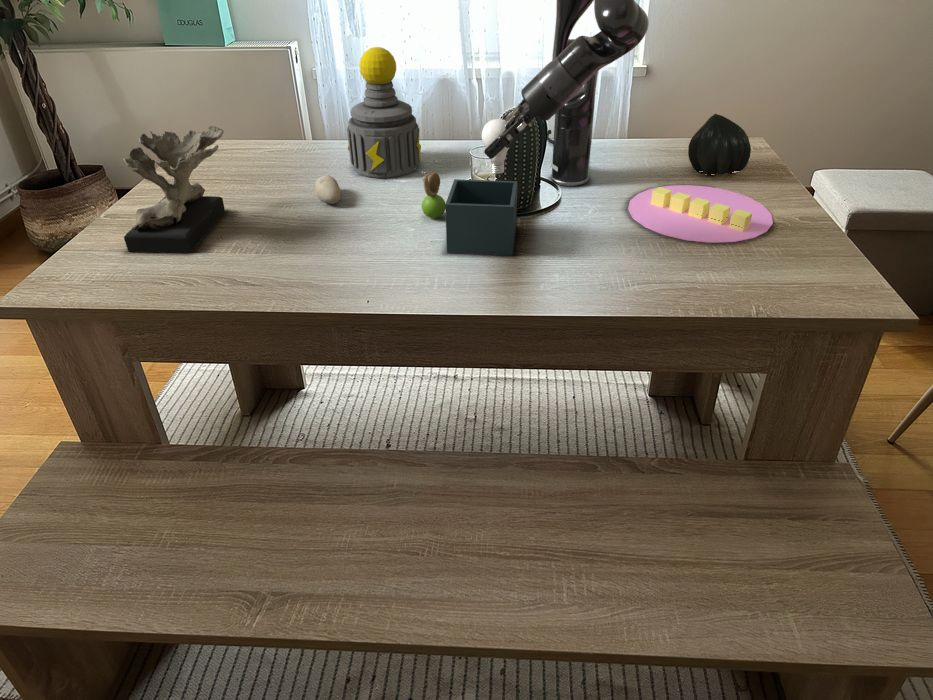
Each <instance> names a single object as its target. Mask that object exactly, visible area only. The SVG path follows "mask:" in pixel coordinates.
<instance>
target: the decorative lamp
mask: <svg viewBox="0 0 933 700" xmlns="http://www.w3.org/2000/svg"><path fill="white" fill-rule="evenodd" d="M358 66H359V72H360V75H361V77H362V79H363V80H364V81H365V82H366V83H365V88H366V89H365V90H364V96H365V97H364V98H363V101H361V102H358V103H357V104H355V105H354V106H352V107H351V109H350V116H351V117H350V118H349V119H348V123H347V124H348V125H347V127H346V133H347V143H348V145H347V150H348V151H349V161H350V165H352V168H353V171H354V172H356V173H357V174H359V175H360V176H364V177H367V178H373V179H391V178H398V177H403V176H406V175H408V174H410V173H412V172H414V171H415V170H416V169H417V168H418V167H419V163H420V162H421V150H422V145H421V143H420V127H419V124H418V123H417V117H415V115H413V107H412V106H411V105H410V104H409V103H407V102H405V101H402V100H399V99H398V97H397V96H396V94H397V92H396V89H395V88H394V83H393V80H394V78H395V76H396V73H397V62H396V59H395V57H394V55H393V54H392V53H391V51H389V50H388V49H386V48H384V47H381V46H374V47H370V48H368V49H367V50H366V51H364V53H363V54H362V55H361V57H360V60H359V65H358Z"/></svg>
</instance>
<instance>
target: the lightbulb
mask: <svg viewBox="0 0 933 700" xmlns="http://www.w3.org/2000/svg"><path fill="white" fill-rule="evenodd" d="M506 123H507V121H505V120H504V118H493V119H491V120H489V121H487V122H486V123H485V125H484V126H483V127H482V130H481V141H482V144H483V146H484V147H485V149H486V148H487V147H488V146H489V145H490V144H491V143H492V142H493V141H494V140H495V139H496V138H497V137H498V135H500V134H501V132H502V131H503V130H504V125H505V124H506ZM510 127H511V126H510ZM505 137H506V138H507V139H508V140H509V139H510V138H511V135H510V134H507V135H506V136H505ZM510 148H511V146H510V147H509V148H506V147H504V148H503V149H502V150H501V151H500V152H499V153H498V154H497V155H496V156H495V157H494V158H493V159H490V172H491V173H492V174H493V175H495V176H500V175H502V174H503V173H504V172H505V160H506V157H507V153H508V152H509V149H510Z"/></svg>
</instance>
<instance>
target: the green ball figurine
mask: <svg viewBox="0 0 933 700" xmlns="http://www.w3.org/2000/svg"><path fill="white" fill-rule="evenodd" d="M427 173H428V172H427V171H423V170H422V171H421V174H422V175H423V176H422V182H423V189H424V192H425V194H426V196H424V198H423V200H422V202H421V210H422V212H423V214H424V215H425V216H426V217H427V218H429V219H438V218H440V217H441V216H443V215H444V213H446V209H445V204H446V201H445V199H444V198H443V197H442V196H441V195H440V194H438V193H439V191H440V185H441V177H440V175H439V173H438V172H431V173H430V174H429V176H427Z"/></svg>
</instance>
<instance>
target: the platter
mask: <svg viewBox="0 0 933 700" xmlns="http://www.w3.org/2000/svg"><path fill="white" fill-rule="evenodd" d="M627 211H628V212H629V214H630V216H631V218H632V219H633V220H634V221H636V222H637V223H638V224H640V225H641V226H642V227H644V228H645V229H648V230H650V231H653V232H654V233H657V234H659V235H662V236H665V237H669V238H674V239H678V240H682V241H688V242H696V243H697V242H698V243H706V244H722V243H723V244H726V243H738V242H743V241H747V240H753V239H755V238H757V237H760V236H761V235H764V234H765V233H767V232H768V231H769V230H770V228H771V227H772V226H773V224H774V220H773V214H772V212H770V211H769V210H768V208H766V206H765V205H764V204H762V203H760V202H758V201H756V200H755V199H753V198H751V197H750V196H747V195H745V194H741V193H738V192H735V191H732V190H728V189H723V188H717V187H713V186H705V185H695V184H693V185H692V184H677V185H675V184H674V185H665V186H659V187H652V188H649V189H647V190H644V191H641V192H639V193H637V194H636V195H635V196H633V197H632V198H631V199H629V204H628V208H627ZM707 211H708V212H707ZM706 212H707V213H706ZM697 214H698V215H697ZM703 214H704V215H703ZM701 215H702V216H701ZM708 217H709V218H708ZM726 217H728V218H726ZM711 218H713V219H711ZM725 218H726V219H725ZM714 219H716V220H714ZM724 219H725V220H724ZM718 220H720V221H718ZM722 220H723V221H722ZM721 221H722V222H721ZM729 223H730V224H729ZM749 223H750V224H749ZM731 224H734V225H731ZM747 224H749V225H747ZM735 225H737V226H735ZM746 225H747V226H746ZM738 226H740V227H738ZM745 226H746V227H745ZM741 227H744V228H741Z"/></svg>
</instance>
